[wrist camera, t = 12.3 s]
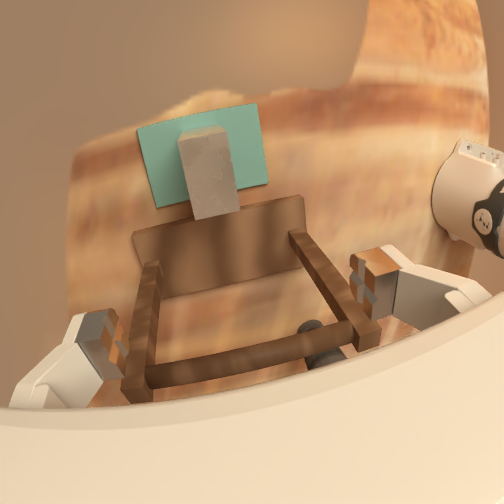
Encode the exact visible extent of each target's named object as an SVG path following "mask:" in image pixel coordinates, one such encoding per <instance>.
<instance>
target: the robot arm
mask: <svg viewBox="0 0 504 504" xmlns="http://www.w3.org/2000/svg"><path fill="white" fill-rule="evenodd" d="M432 208H433V213H434V216H435V219H436V221H437V222H438V224H439V225H440V226H442V227H443V228H444V229H446V230H447V232H448V235H449V237H450V239H452V240H454V241H457V240H459V239H461V240H463V241H465V242H467V243H469V244H470V245H472V246H474V247H476V248H478V249H480V250H484V249H486V248H487V249H488V250H489V251H491V253H493V254H494V255H496V256H498V257H500V258H502V259H504V153H503V152H501V151H499V150H496V149H493V148H490V147H487V146H484V145H481V144H478V143H475V142H472V141H468V140H465V139H460V140H459V141H458V143H457V145H456V147H455V149H454V152H453V153H452V155H451V156H450V157H449V158H448V159H447V160H446V161H445V163H444V164H443V166H442V167H441V169H440V171H439V173H438V175H437V177H436V180H435V184H434V188H433V194H432ZM350 267H351V268H352V269H353V272H352V273H351V275H350V276H349V279H350V289H351V293H352V295H353V297H354V299H355V300H356V301H357V302H359V303H361V304H363V308H362V310H363V311H364V312H365V314H366V315H367V316H368V318H369V319H370V321H374V320H377V319H381V318H384V317H387V316H390V315H393V316H394V317H396V318H398V319H400V320H402V321H403V322H405V323H407V324H409V325H411V326H413V327H415V328H417V329H419V330H421V331H420V332H417V333H415V334H413V335H410V336H408V337H405V338H403V339H400V340H398V341H395V342H393V343H390V344H388V345H385V346H382V347H380V348H377V349H374V350H371V351H369V352H366V353H363V354H360V355H357V356H354V357H351V358H348V359H345V360H342V361H339V362H336V363H332V364H329V365H326V366H323V367H319V368H316V369H313V370H309V371H306V372H302V373H298V374H295V375H291V376H287V377H283V378H280V379H276V380H272V381H268V382H263V383H259V384H255V385H251V386H246V387H242V388H237V389H232V390H227V391H222V392H217V393H212V394H206V395H200V396H195V397H188V398H182V399H175V400H168V401H161V402H153V403H144V404H134V405H124V406H111V407H96V408H86V407H87V405H88V404H89V402H90V401H91V399H92V398H93V397H94V395H95V394H96V392H97V391H98V389H99V388H100V386H101V385H102V384H103V381H105V380H113V379H120V378H125V373H126V367H127V362H126V360H125V359H124V358H125V357H126V356H127V355H128V354H129V348H130V347H129V339H128V336H127V333H126V331H125V329H124V327H122V326H121V325H119V324H118V319H119V317H118V315H117V313H116V312H115V310H114V309H112V308H109V309H103V310H98V311H92V312H87V313H86V312H85V313H81V314H76V315H74V316H73V318H72V320H71V323H70V325H69V327H68V330H67V332H66V334H65V337H64V339H63V342H62V344H61V345H58V346H57V347H56V348H55V349H54V350H53V351H51V352H50V353H49V354H48V355H47V356H46V357H45V358H44V359H43V360H42V361H41V362H40V363H39V364H38V365H37V366H35V368H34V369H32V370H31V371H30V372H29V373H28V374H27V375H26V376H25V377H24V378H23V379H22V380H21V381H20V382H19V383H18V384H17V385H16V388H15V390H14V393H13V396H12V399H11V401H10V404H9V407H0V504H504V291H502V292H500V293H498V294H497V295H495V296H492V295H491V294H489V293H488V292H487V291H486V290H485V289H484V288H483V287H482V286H481V285H479V284H478V283H477V282H476V281H475V280H472V279H468V278H465V277H462V276H458V275H455V274H451V273H448V272H445V271H441V270H438V269H434V268H431V267H427V266H424V265H420V264H416V265H414V264H413V263H412V262H411V261H410V260H409V259H407V258H406V257H405V256H404V255H403V254H402V253H401V252H399V251H398V250H397V249H396V248H395V247H394V246H392V245H390V244H386V245H383V246H380V247H376V248H373V249H370V250H366V251H363V252H359V253H355V254H352V255H351V257H350Z"/></svg>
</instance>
